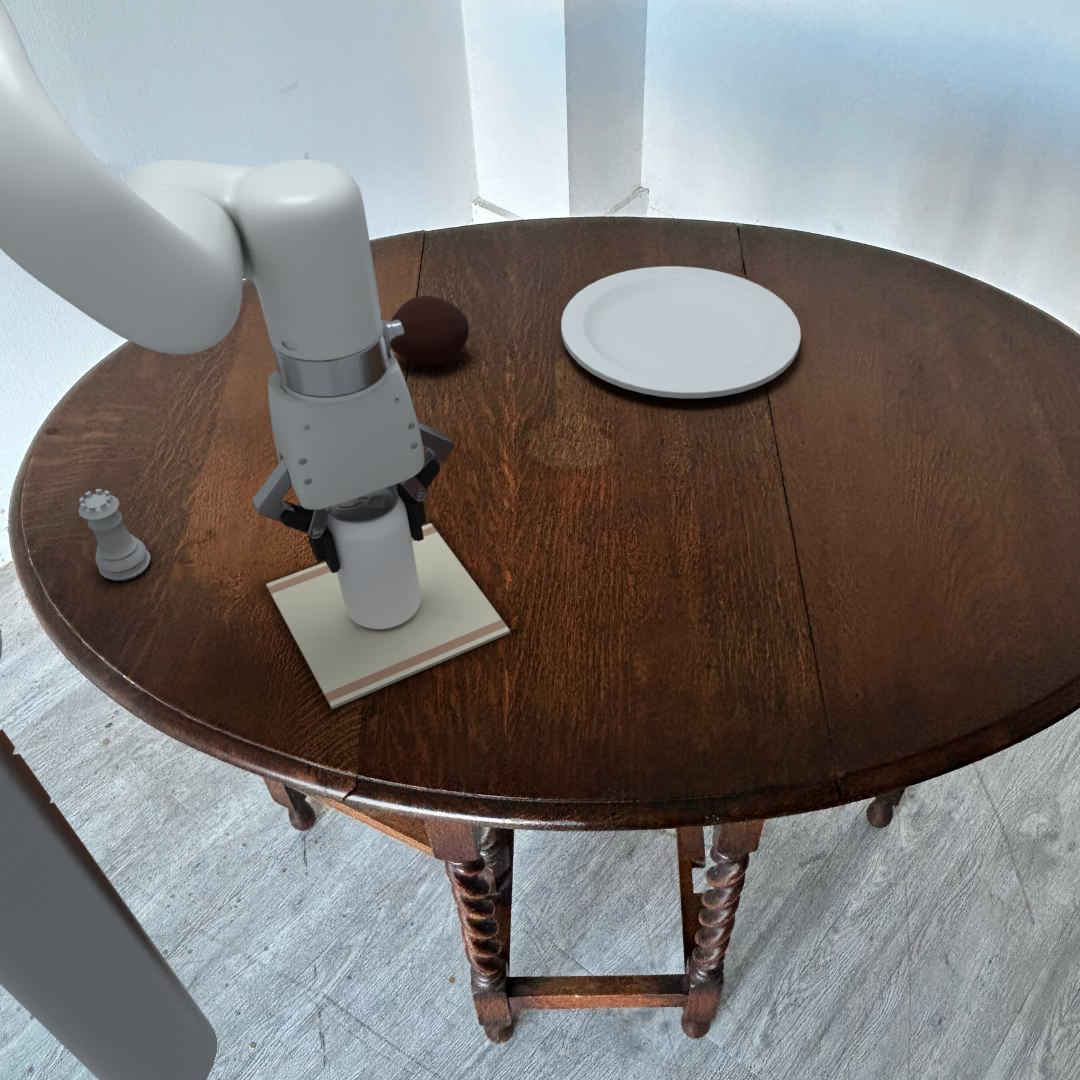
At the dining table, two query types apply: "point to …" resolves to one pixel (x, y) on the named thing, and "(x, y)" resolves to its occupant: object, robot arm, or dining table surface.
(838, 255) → the dining table surface
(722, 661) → the dining table surface
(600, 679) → the dining table surface
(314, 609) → the napkin
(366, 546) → the can
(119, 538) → the rook chess piece
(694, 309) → the plate
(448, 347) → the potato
